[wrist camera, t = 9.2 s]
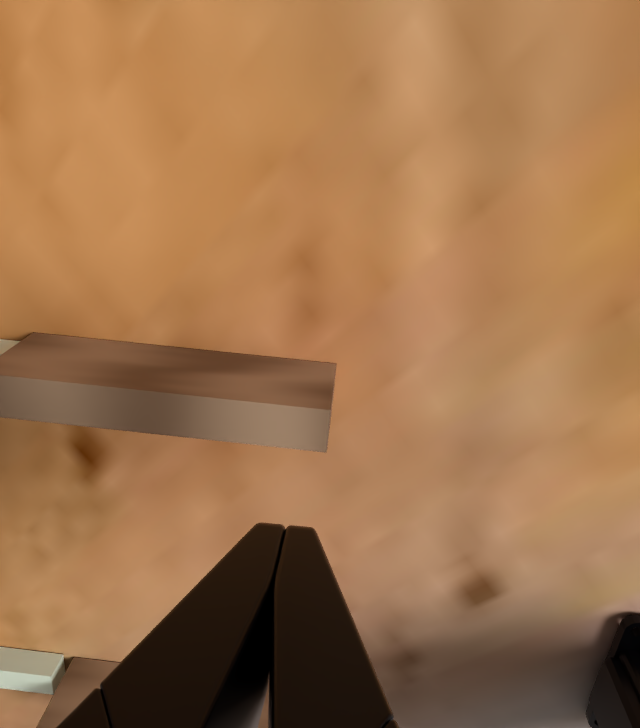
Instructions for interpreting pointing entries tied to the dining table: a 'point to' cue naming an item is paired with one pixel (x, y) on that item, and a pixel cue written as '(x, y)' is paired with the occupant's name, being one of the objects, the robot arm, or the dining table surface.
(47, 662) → the frame
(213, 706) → the robot arm
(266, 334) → the dining table surface
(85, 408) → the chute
